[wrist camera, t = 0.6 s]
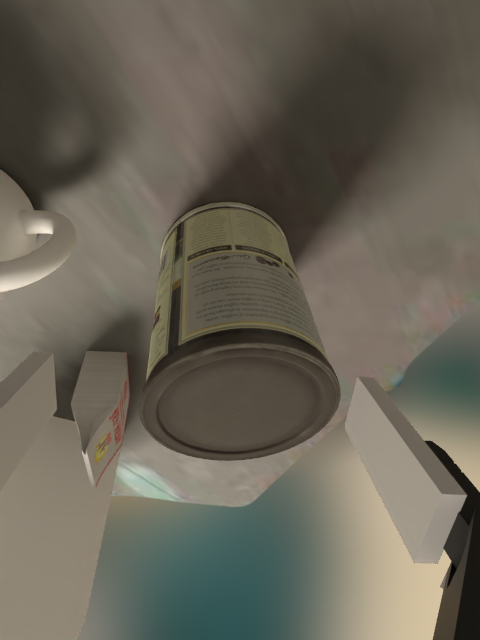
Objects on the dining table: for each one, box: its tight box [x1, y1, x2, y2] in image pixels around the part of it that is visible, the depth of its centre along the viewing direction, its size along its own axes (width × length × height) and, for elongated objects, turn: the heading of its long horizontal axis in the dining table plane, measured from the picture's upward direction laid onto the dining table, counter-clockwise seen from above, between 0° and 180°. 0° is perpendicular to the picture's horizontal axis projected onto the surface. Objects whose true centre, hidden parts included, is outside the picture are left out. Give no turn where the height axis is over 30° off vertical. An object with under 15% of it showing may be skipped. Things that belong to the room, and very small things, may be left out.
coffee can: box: [139, 202, 341, 461], centre depth 24 cm, size 10×10×14 cm
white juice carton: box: [71, 351, 130, 488], centre depth 34 cm, size 4×7×10 cm, turn 171°
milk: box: [0, 416, 121, 640], centre depth 36 cm, size 12×12×26 cm
